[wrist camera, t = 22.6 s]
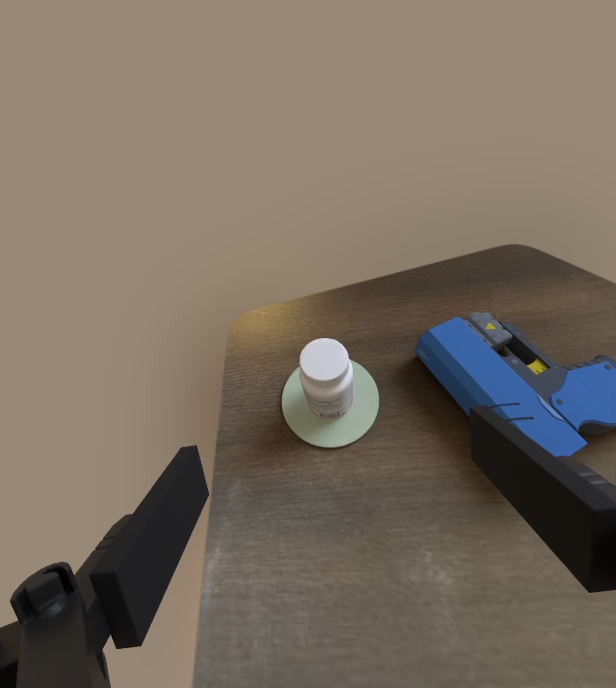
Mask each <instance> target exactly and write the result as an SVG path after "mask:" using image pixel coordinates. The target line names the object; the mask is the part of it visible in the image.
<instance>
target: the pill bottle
mask: <svg viewBox="0 0 616 688" xmlns="http://www.w3.org/2000/svg"><path fill="white" fill-rule="evenodd" d="M299 377H300V381H301V384H302V388H303V391H304V394H305V397H306V400H307V403H308V406H309V408H310V409H311V411H312V412H313V413H314V414H315V415H317V416H318V417H320V418H323V419H328V420H332V419H337V418H340V417H342V416H343V415H344V414H346V413H347V412H348V410H349V409H350V407H351V405H352V402H353V368H352V364H351V362H350V360H349V359H348V353H347V351H346V349H345V348H344V346H343V345H342V344H340V343H339V342H337V341H336V340H333V339H328V338H322V339H317V340H314V341H312V342H310V343H309V344H307V345H306V346H305V347H304V349H303V350H302V352H301V355H300V371H299Z"/></svg>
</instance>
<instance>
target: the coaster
mask: <svg viewBox="0 0 616 688" xmlns="http://www.w3.org/2000/svg"><path fill="white" fill-rule="evenodd" d="M349 360H350V359H349ZM350 362H351V364H352V368H353V402H352V405H351V407H350V409H349V410H348V412H347V413H346V414H344V415H343V416H342V417H340V418H337V419H332V420H328V419H323V418H320V417H318V416H317V415H315V414H314V413H313V412H312V411H311V409H310V408H309V406H308V403H307V400H306V397H305V394H304V391H303V388H302V384H301V381H300V377H299V371H300V367H298V368H297V369H296V370H295V371H294V372H293V373H292V375H291V376H290V377H289V379H288V381H287V382H286V385H285V387H284V390H283V395H282V409H283V414H284V417H285V419H286V422H287V423H288V425H289V427H290V428H291V430H292V431H293V432H294V433H295V434H296V435H297V436H298V437H299V438H301V439H302V440H304V441H305V442H307V443H309V444H311V445H314V446H317V447H322V448H338V447H343V446H346V445H349V444H351V443H353V442H355V441H357V440H358V439H360V438H361V437H362V436H364V435H365V434H366V433H367V432H368V430H369V429H370V428H371V426H372V425H373V423H374V421H375V419H376V416H377V412H378V407H379V395H378V390H377V387H376V384H375V382H374V380H373V379H372V377H371V375H370V374H369V373H368V372H367V371H366V370H365V369H364V368H363V367H362V366H360V365H359V364H358V363H356V362H354V361H352V360H350Z"/></svg>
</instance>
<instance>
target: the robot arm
mask: <svg viewBox="0 0 616 688" xmlns="http://www.w3.org/2000/svg"><path fill="white" fill-rule="evenodd" d="M469 414H470V436H471V459H472V460H473V461H474V462H475V464H476V465H477V466H478V467H479V468H480V469H481V470H482V472H483V473H484V474H485V475H486V476H487V477H488V478H489V479H490V481H491V482H492V483H493V484H494V485H495V486H496V487H497V489H498V490H499V491H500V492H501V493H502V494H503V495H504V497H505V498H506V499H507V500H508V501H509V502H510V503H511V505H512V506H513V507H514V508H515V509H516V510H517V511H518V513H519V514H520V515H521V516H522V517H523V518H524V519H525V520H526V522H527V523H528V524H529V525H530V526H531V527H532V528H533V530H534V531H535V532H536V533H537V534H538V535H539V536H540V538H541V539H542V540H543V541H544V542H545V543H546V544H547V546H548V547H549V548H550V549H551V550H552V551H553V552H554V553H555V555H556V556H557V557H558V558H559V559H560V560H561V561H562V563H563V564H564V565H565V566H566V567H567V568H568V569H569V571H570V572H571V573H572V574H573V575H574V576H575V577H576V579H577V580H578V581H579V582H580V583H581V584H582V585H583V587H584V588H585V589H586V590H587V591H588V592H589V593H593V592H601V591H610V590H616V486H615V485H613V484H612V483H610V482H609V483H608V482H607V480H606V479H604V478H603V477H602V476H600V475H599V474H596V472H594V471H593V470H591V469H590V468H589V467H587V466H586V465H584V464H583V463H581V462H579V461H576V460H574V459H572V458H569V457H567V456H565V455H564V456H557V457H555V456H554V455H553V454H551V453H550V452H548V451H547V450H546V449H544V448H543V447H542V446H540V445H539V444H538V443H536V442H535V441H534V440H532V439H531V438H530V437H528V436H527V435H526V434H524V433H523V432H522V431H520V430H519V429H518V428H516V427H515V426H513V425H512V424H511V423H509V422H508V421H507V420H505V419H504V418H503V417H501V416H500V415H499V414H497V413H496V412H495V411H493V410H492V409H491V408H489V407H488V406H487V405H481V406H473V407H469ZM208 496H209V492H208V488H207V484H206V480H205V477H204V472H203V468H202V464H201V460H200V456H199V453H198V448H197V445H195V446H187V447H182V448H180V450H179V451H178V453H177V454H176V455H175V457H174V458H173V460H172V461H171V462H170V464H169V465H168V466H167V468H166V469H165V470H164V472H163V473H162V475H161V476H160V477H159V479H158V480H157V481H156V483H155V484H154V486H153V487H152V488H151V490H150V491H149V492H148V494H147V495H146V497H145V498H144V499H143V501H142V502H141V503H140V505H139V506H138V508H137V509H136V510H135V512H134V513H133V514H129V515H125V516H124V517H123V518H122V519H120V520H119V521H118V522H117V523H116V524H114V525H113V526H112V527H111V529H110V530H109V531H108V532H107V534H106V535H105V537H104V538H103V540H102V541H101V542H100V543H99V544H98V545H97V547H96V548H95V550H94V551H93V552H92V553H91V554H90V556H89V557H88V559H87V560H86V561H85V562H84V563H83V565H82V566H81V568H80V569H79V570H78V571H77V573H76V574H75V575H73V572H72V569H71V567H70V565H69V564H68V563H65V562H59V563H54V564H51V565H49V566H47V567H44V568H42V569H41V570H39V571H37V572H36V573H34V574H33V575H31V576H30V577H29V578H27V579H26V580H25V581H24V582H23V583H22V584H20V586H19V587H18V588H17V590H16V591H15V592H14V593H13V595H12V597H11V600H10V603H11V605H12V607H13V609H14V612H15V614H16V616H17V618H18V621H16V622H13V623H11V624H8V625H6V626H3V627H1V628H0V688H111V686H110V680H109V675H108V669H107V663H106V658H105V655H104V652H103V650H102V649H103V647H104V645H105V644H106V642H107V640H108V638H109V636H110V635H111V636H112V639H113V641H114V644H115V647H116V649H122V648H130V647H138V646H141V645H142V643H143V641H144V639H145V637H146V634H147V632H148V630H149V628H150V625H151V623H152V621H153V619H154V616H155V614H156V612H157V610H158V607H159V605H160V603H161V601H162V599H163V596H164V594H165V592H166V590H167V587H168V585H169V583H170V580H171V578H172V576H173V574H174V572H175V569H176V567H177V565H178V563H179V560H180V558H181V556H182V554H183V552H184V549H185V547H186V545H187V543H188V540H189V538H190V536H191V533H192V531H193V529H194V527H195V525H196V523H197V520H198V518H199V516H200V513H201V511H202V509H203V507H204V504H205V502H206V500H207V498H208Z"/></svg>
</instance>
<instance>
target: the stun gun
mask: <svg viewBox="0 0 616 688" xmlns="http://www.w3.org/2000/svg"><path fill="white" fill-rule="evenodd" d="M523 335H524V334H523V333H522V332H521V331H520V330H518V329H517V328H516V327H515V326H513V325H512V324H510V323H508V322H499V323H498V322H497V321H496V320H493V317H492V316H491V315H489V314H488V313H487V312H483V313H477V312H474V313H472V314H470V315H469V316H467V317H466V318H465V319H464V320H463V321H462V320H461V319H460V318H459V317H456V318H453V319H451V320H449V321H447V322H445V323H443V324H440V325H438V326H436V327H434V328H432V329H430V330H428V331H427V332H426V333H425V334H424V335H422V336H421V337H420V339H419V341H418V344H417V346H416V348H415V350H414V352H415V353H416V354H417V356H418V357H419V358H420V359H421V360H422V361H423V363H424V364H425V365H426V366H427V367H428V369H429V370H430V371H431V372H432V373H433V375H434V376H435V377H436V378H437V379H438V380H439V382H440V383H441V384H442V385H443V386H444V388H445V389H446V390H447V391H448V392H449V394H450V395H451V396H452V397H453V398H454V399H455V401H456V402H457V403H458V404H459V405H460V407H461V408H462V409H463V410H464V411H465V413H466V414H467V415H468V416H469V417H470V414H469V407H473V406H481V405H487V406H488V407H489V408H491V409H492V410H493V411H495V412H496V413H497V414H499V415H500V416H501V417H503V418H504V419H505V420H507V421H508V422H509V423H511V424H512V425H513V426H515V427H516V428H518V429H519V430H520V431H522V432H523V433H524V434H526V435H527V436H528V437H530V438H531V439H532V440H534V441H535V442H536V443H538V444H539V445H540V446H542V447H543V448H544V449H546V450H547V451H548V452H550V453H551V454H553V455H554V456H555V457H557V456H564V455H565V456H567V457H569V456H570V455H572V454H573V453H575V452H576V451H578V450H579V449H581V448H582V447H584V446H585V445H587V442H586V441H585V440H584V439H583V438H582V437H581V436H580V435H579V434H578V432H581V433H585V434H591V435H597V434H603V433H606V432H609V431H612V430H615V429H616V362H615V361H614V360H613V359H611V358H610V357H608V356H606V355H598V356H596V357H595V359H594V360H591V361H587V362H583V363H579V364H575V365H572V366H567V367H563V368H561V367H560V366H559V365H558V364H557V363H556V362H555V363H553V362H552V361H551V360H549V359H548V358H547V357H546V356H545V355H544V354H543V353H541V352H540V351H539V350H538V349H537V348H536V347H535V346H534V345H532V344H531V343H530V342H529V341H528V340H527V339H526V338H525V337H523ZM505 346H506V347H507V348H508V349H509V350H510V351H511V352H512V353H513V354H514V355H515V356H514V355H510V356H508V357H502V356H501V355H499V354H498V353H497V352H498V351H500V350H501V349H503V348H504V347H505Z"/></svg>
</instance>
